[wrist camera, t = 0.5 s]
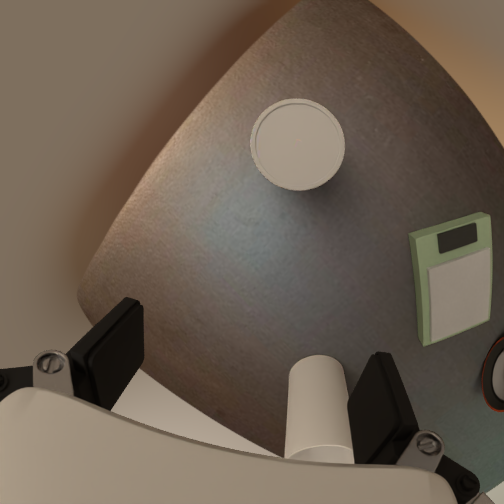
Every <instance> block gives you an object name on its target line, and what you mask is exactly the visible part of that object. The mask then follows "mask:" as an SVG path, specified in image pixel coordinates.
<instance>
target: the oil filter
mask: <svg viewBox="0 0 504 504" xmlns="http://www.w3.org/2000/svg"><path fill="white" fill-rule="evenodd" d="M482 392H483V396H484V399H485V401H486V403H487V404H488V406H489V407H490V408H491V409H492V410H494V411H497V412H504V337H503V338H501V339H500V340H498V341H497V342H496V343H495V344H494V346H493V347H492V348H491V350H490V352H489V353H488V356H487V358H486V361H485V364H484V367H483V372H482Z"/></svg>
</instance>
